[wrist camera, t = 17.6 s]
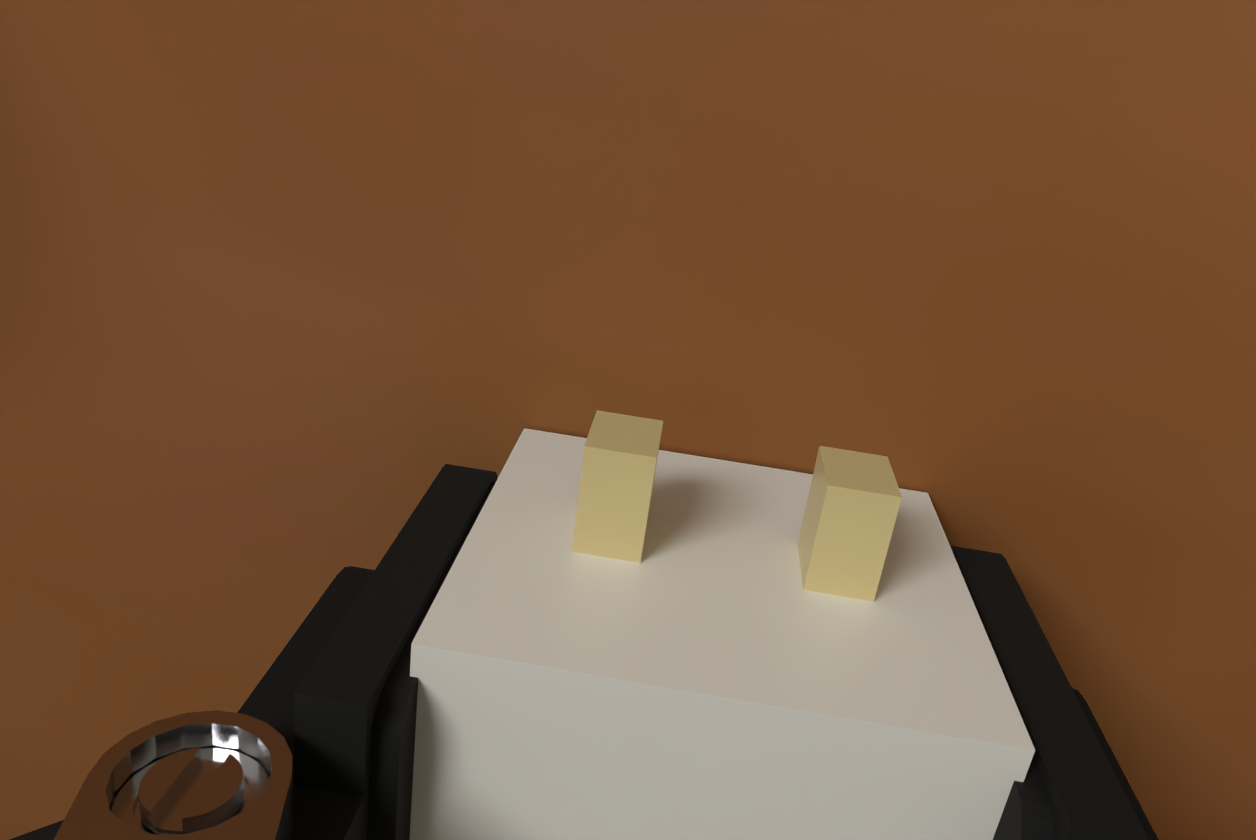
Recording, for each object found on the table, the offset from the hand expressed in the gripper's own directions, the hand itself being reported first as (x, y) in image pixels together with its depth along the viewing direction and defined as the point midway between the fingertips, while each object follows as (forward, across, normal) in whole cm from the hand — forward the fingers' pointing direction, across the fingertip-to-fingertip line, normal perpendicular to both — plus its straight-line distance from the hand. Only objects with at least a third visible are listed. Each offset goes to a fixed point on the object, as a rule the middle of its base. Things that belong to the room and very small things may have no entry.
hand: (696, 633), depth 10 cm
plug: (+1, 0, +8) cm, 8 cm away
